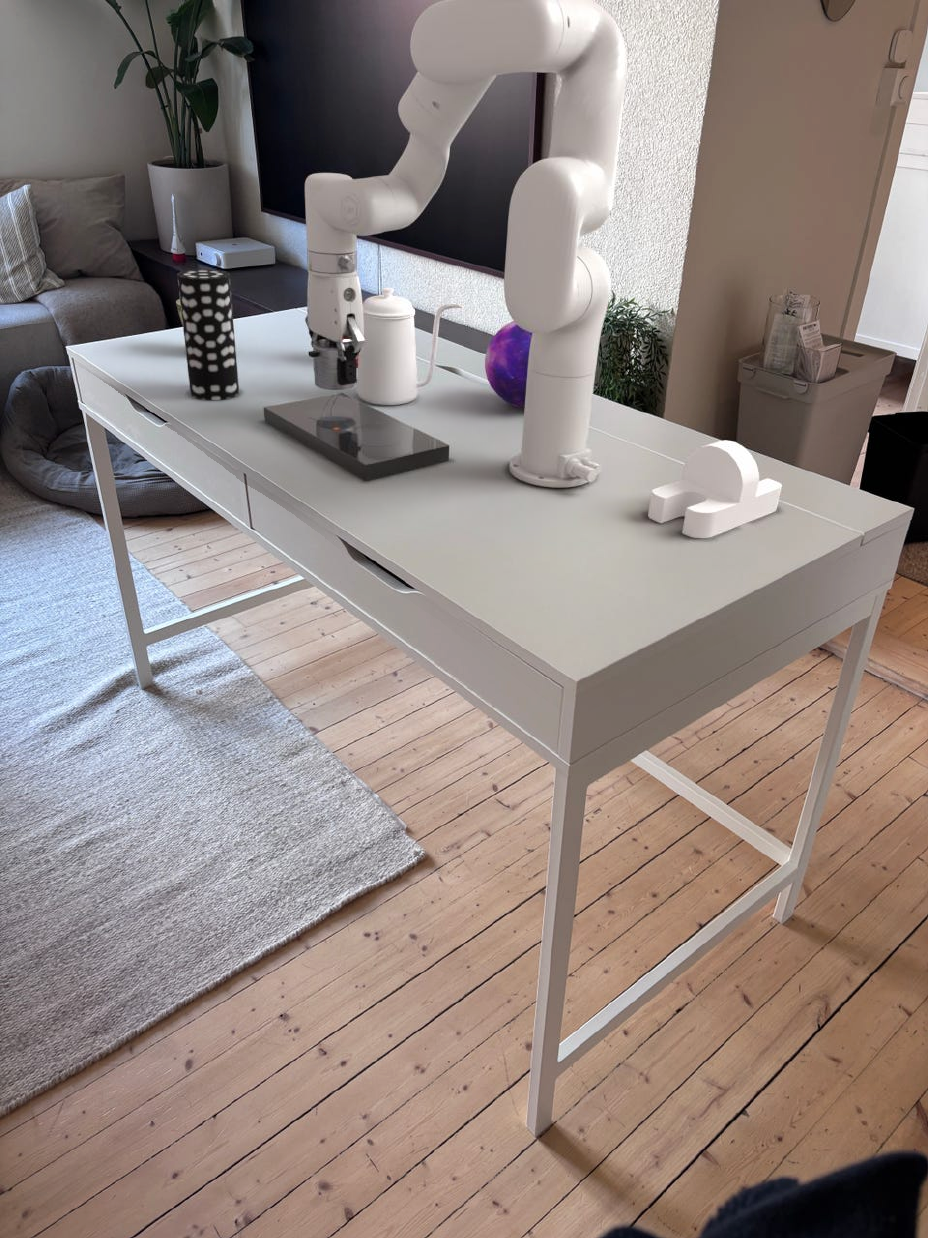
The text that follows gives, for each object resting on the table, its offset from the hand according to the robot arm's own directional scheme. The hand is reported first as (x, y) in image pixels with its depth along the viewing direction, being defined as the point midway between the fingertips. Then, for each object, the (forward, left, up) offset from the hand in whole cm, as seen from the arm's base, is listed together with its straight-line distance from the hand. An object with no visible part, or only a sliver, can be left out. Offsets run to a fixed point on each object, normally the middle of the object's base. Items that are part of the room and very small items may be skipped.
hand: (335, 376), depth 152 cm
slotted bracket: (-61, -23, -7) cm, 65 cm away
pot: (0, 0, -1) cm, 1 cm away
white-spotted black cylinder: (+22, +11, -7) cm, 26 cm away
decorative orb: (-12, -32, -7) cm, 35 cm away
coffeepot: (+4, -14, -7) cm, 16 cm away
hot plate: (-11, +3, -7) cm, 13 cm away
